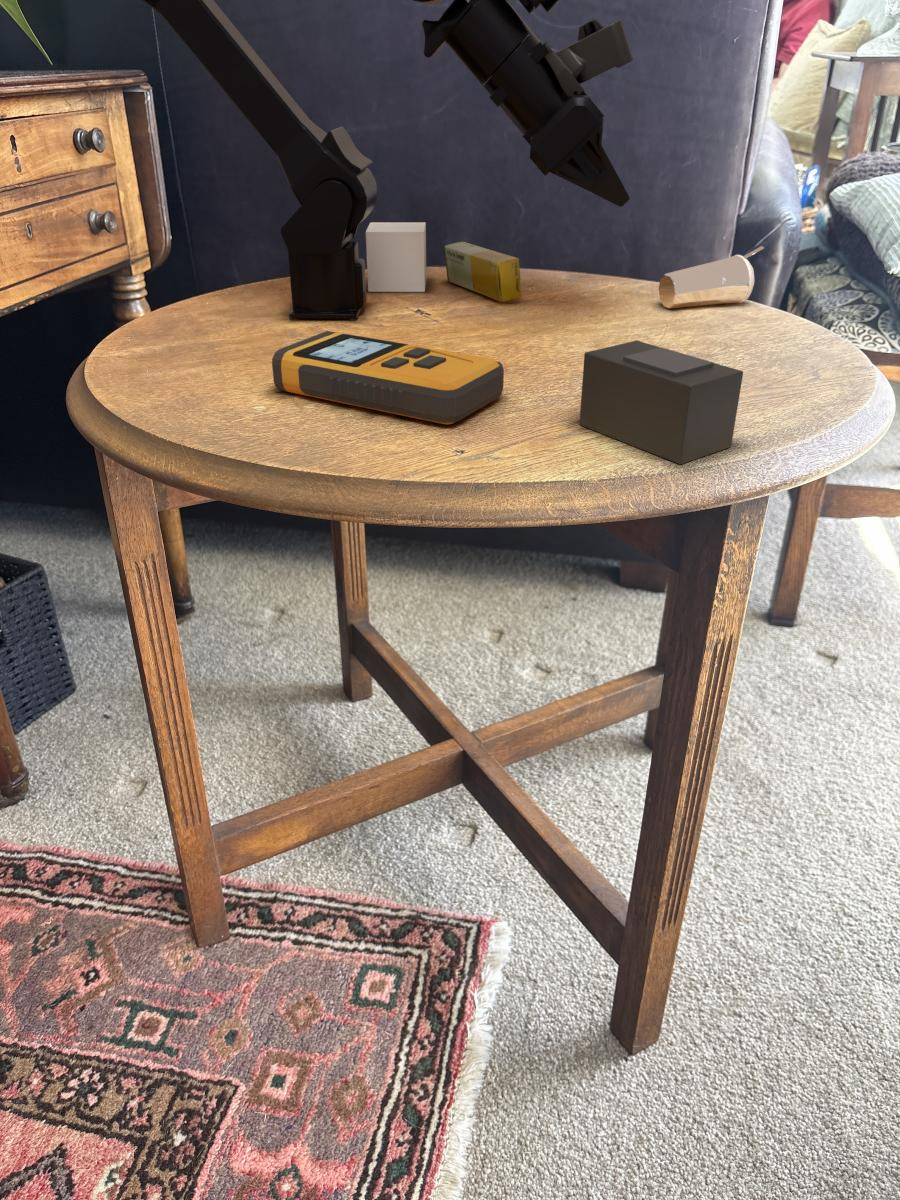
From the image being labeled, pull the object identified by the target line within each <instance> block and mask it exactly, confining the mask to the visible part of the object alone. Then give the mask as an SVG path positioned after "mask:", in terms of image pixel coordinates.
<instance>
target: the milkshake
mask: <svg viewBox="0 0 900 1200" xmlns="http://www.w3.org/2000/svg"><path fill="white" fill-rule="evenodd" d="M764 249H765V247H764V246H763V245H761V246H759V247H757V248H755V249H754V250H752V251H750V252H748V253H747V254H745V255H742V254H734V255H732V256H728V257H725V258H721V259H718V260H715V261H710V262H707V263H702V264H699V265H694V266H691V267H687V268H682V269H678V270H675V271H671V272H666V273H664V274H663V276H662V277H661V278H660V279H659V284H658V296H659V300H660V302H661V304H662V306H663V307H664V308H667V309H678V308H679V309H680V308H688V307H689V308H691V307H700V306H701V307H702V306H710V305H723V304H739V303H743V302H745V301H747V300H748V299H749V298H750V296H751V294H752V292H753V290H754V285H755V270H754V267H753V266H752V264H751V262H750V261H749V260H748V258H750V257H752V256H753V255H755V254H757V253H759V252H761V251H762V250H764Z"/></svg>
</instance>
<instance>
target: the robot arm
mask: <svg viewBox="0 0 900 1200" xmlns="http://www.w3.org/2000/svg"><path fill="white" fill-rule="evenodd" d="M141 1H142V2H144V3H145V4H146V5H148V6H149V7H150V8H152V9H153V10H154V11H156V12H157V13H158V14H159V15H160V17H161V18H162V19H163V20H164V22H166V24H167V25H168V26H169V27H170V28H171V30H173V32H174V33H175V34H176V36H177V37H178V38H179V39H180V40H181V42H182V43H183V44H184V45H185V47H186V48H187V49H188V50H189V52H191V53H192V55H193V56H194V57H195V58H196V60H197V61H198V62H199V63H200V65H201V66H202V67H203V68H204V69H205V71H206V72H207V73H208V74H209V75H210V76H211V78H212V79H213V80H214V82H216V84H217V85H218V86H219V87H220V89H221V90H222V91H223V92H224V93H225V95H226V96H227V97H228V98H229V99H230V101H231V102H232V103H233V104H234V105H235V107H236V108H237V109H238V110H239V111H240V112H241V114H242V115H243V116H244V117H245V119H246V120H247V121H248V122H249V123H250V124H251V126H252V127H253V128H254V129H255V130H256V132H257V133H258V134H259V136H261V138H262V139H263V140H264V141H265V143H266V144H267V145H268V146H269V148H270V149H271V150H272V151H273V153H274V154H275V156H276V158H277V159H278V162H279V164H280V166H281V169H282V171H283V174H284V176H285V178H286V180H287V183H288V185H289V188H290V189H291V191H292V193H293V194H294V196H295V197H296V199H297V201H298V203H299V204H300V207H298V209H296V211H295V212H294V213H293V214H292V216H291V217H290V218H289V219H288V220H287V221H286V222H285V223H284V225H282V227H281V228H280V235H281V237H282V239H283V241H284V244H285V246H286V249H287V258H288V268H289V269H288V270H289V282H290V295H291V305H292V306H291V309H290V311H289V312H288V317H289V318H290V319H327V320H328V319H333V320H334V319H335V320H337V319H345V320H346V319H347V320H350V319H352V320H353V319H358V317H359V316H360V313H361V311H362V310H363V309H364V307H365V305H366V303H367V281H366V278H367V277H366V260H365V259H364V258H360V257H359V242H358V241H351V239H354V238H355V237H356V234H357V231H358V228H359V225H360V224H361V223H362V222H363V221H365V219H366V218H367V217H368V216H369V215H370V214H371V213H372V211H373V210H374V208H375V206H376V202H377V200H378V199H377V198H378V185H377V181H376V178H375V176H374V174H373V173H372V171H371V169H370V168H369V167H370V166H371V165H372V164H373V160H371V159H370V158H369V157H367V156H364V154H362V153H361V152H360V150H358V148H357V146H356V145H355V143H354V142H353V139H352V137H351V136H350V134H349V132H348V131H347V129H346V128H345V127H344V126H339V127H337V128H335V129H332V130H329V131H328V132H326V131H325V130H323V129H322V128H321V127H319V126H318V125H316V124H315V123H314V122H313V120H311V118H309V117H308V115H307V114H306V113H305V112H304V110H303V109H302V108H301V107H300V106H299V104H298V102H296V101H295V99H294V98H293V97H292V96H291V94H290V93H289V92H288V90H287V89H286V88H285V87H284V85H283V84H282V83H281V82H280V81H279V80H278V78H277V77H276V76H275V75H274V73H273V72H272V71H271V70H270V68H269V67H268V66H267V64H266V63H265V62H264V61H263V60H262V58H261V57H260V56H259V54H258V53H256V51H255V50H254V48H253V47H252V46H251V45H250V43H249V42H248V41H247V40H246V38H245V37H244V36H243V35H242V33H241V32H240V31H239V30H238V28H236V26H235V24H234V23H232V21H231V20H230V19H229V18H228V16H227V15H226V14H225V12H224V11H223V10H222V9H221V7H220V6H219V5H218V4H217V2H215V0H141ZM412 1H414V2H416V3H419V4H424V5H427V6H431V5H437V4H440V3H442V2H444V1H445V0H412ZM560 1H561V0H518V2H519V4H521V6H522V7H523V8H524V9H525V10H526V12H527V13H528V14H529V15H531V14H532V13H533V12H534V11H535V10H537V9H538V8H539V6H541V7H542V9H543V10H544V11H545V12H546V14H550V13H551V12H552V10H553V9H554V8H555V7H556V6H557V5H558V4H559V2H560ZM623 24H624V23H623V22H622V19H618V20H616V21H614V22H612V23H611V24H608V25H607V26H605V27H604V26H603V25H602V24H601V23H600V22H599V21H598V20H597V19H596V18H594V19H591V20H590V21H588V22H586V23H584V24H581V25H579V26H578V31H577V41H575V42H573V43H571V44H570V45H568V46H566V47H563V48H562V49H560V50H558V51H556V52H554V50H553V49H552V47H550V46H549V44H548V43H547V42H544V43H542V42H541V41H540V40H539V38H538V37H537V36H536V34H535V33H534V32H533V31H532V29H530V27H529V26H528V24H527V23H526V22H525V21H524V20H523V18H522V17H521V16H520V15H519V13H518V12H517V11H516V10H515V8H514V7H513V6H512V5H511V4H510V2H509V1H508V0H452V2H451V3H450V4H449V6H447V8H446V9H445V10H444V11H443V13H441V15H440V16H439V17H438V18H437V20H430V19H429V20H428V19H424V20H423V21H422V22H421V27H422V29H423V36H424V41H423V42H424V44H423V45H424V46H423V56H424V57H425V58H434V57H436V56H437V54H438V53H440V51H441V50H442V49H443V48H444V46H446V45H447V46H448V48H450V50H451V51H452V52H453V53H454V55H456V57H457V58H458V59H459V60H460V61H461V63H462V64H463V65H464V66H465V68H467V70H468V71H469V72H470V73H471V74H472V76H473V77H474V78H475V80H477V81H478V83H479V84H480V85H481V86H482V87H483V89H484V90H485V91H486V93H488V94H489V99H490V100H491V101H492V102H493V103H494V104H495V106H496V107H497V108H498V107H499V108H500V109H501V110H502V111H503V112H504V114H505V115H506V116H507V117H508V118H509V120H510V121H511V122H512V123H513V124H514V125H515V126H516V128H517V129H518V130H519V131H520V132H521V134H522V138H523V139H524V140H525V141H526V142H527V144H528V145H529V146H530V147H529V159H530V160H531V162H532V163H533V164H534V165H535V166H536V167H537V168H538V170H539V171H540V172H541V173H542V174H543V175H544V176H547V175H548V174H552V175H555V176H557V177H559V178H561V179H563V180H566V181H567V182H570V183H571V184H574V185H576V186H577V187H580V188H581V189H584V190H586V191H588V192H590V193H592V194H594V195H596V196H598V197H600V198H602V199H604V200H605V201H608V202H609V203H612V204H613V205H616V206H617V207H619V208H623V207H624V206H625V205H626V204H627V203H628V202H629V201H630V198H631V197H630V195H629V193H628V190H627V189H626V188H625V186H624V184H623V182H622V180H621V178H620V176H619V174H618V173H617V170H616V169H615V167H614V165H613V163H612V161H611V160H610V158H609V156H608V153H607V152H606V150H605V148H604V147H603V142H602V141H603V133H604V132H603V131H604V124H605V119H604V118H605V115H604V113H603V112H602V111H601V110H600V109H599V107H598V106H597V105H596V104H595V102H594V101H593V100H592V98H590V96H589V95H588V94H587V93H586V92H585V89H584V87H582V85H581V84H583V83H585V82H587V81H589V80H591V79H593V78H595V77H597V76H599V75H601V74H603V73H606V72H607V71H609V70H611V69H613V68H617V69H619V68H622V67H623V66H625V65H628V64H629V63H631V62H633V61H634V57H633V53H632V49H631V47H630V43H629V40H628V38H627V34H626V31H625V28H624V25H623Z"/></svg>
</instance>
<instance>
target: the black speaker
mask: <svg viewBox="0 0 900 1200" xmlns="http://www.w3.org/2000/svg"><path fill="white" fill-rule="evenodd" d="M583 355H584V357H583V368H582V382H581V383H582V384H581V396H580V411H579V422H578V423H579V425H580V426H582V427H584V428H587V429H589V430H592V431H594V432H597V433H599V434H602V435H604V436H607V437H610V438H612V439H615V440H617V441H619V442H623V443H625V444H627V445H630V446H633V447H635V448H637V449H640V450H643V451H645V452H648V453H650V454H652V455H655V456H658V457H660V458H663V459H665V460H668V461H670V462H673V463H675V464H679V465H683V464H686V463H689V462H691V461H694V460H697V459H700V458H703V457H706V456H709V455H712V454H714V453H717V452H720V451H723V450H726V449H729V448H731V447H732V445H733V439H734V432H735V426H736V419H737V415H738V414H737V413H738V409H739V408H738V407H739V402H740V394H741V390H742V382H743V377H744V371H743V370H740V369H737V368H733V367H729V366H726V365H722V364H719V363H717V362H713V361H709V360H706V359H703V358H700V357H696V356H692V355H689V354H687V353H682V352H679V351H676V350H672V349H669V348H665V347H663V346H657V345H653V344H650V343H647V342H643V341H640V340H636V339H635V340H633V341H628V342H624V343H620V344H615V345H611V346H608V347H602V348H599V349H595V350H591V351H586V352H584V354H583Z"/></svg>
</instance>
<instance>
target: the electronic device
mask: <svg viewBox="0 0 900 1200" xmlns="http://www.w3.org/2000/svg"><path fill="white" fill-rule="evenodd" d="M271 368H272V377H273V384H274V386H275V388H276V389H277V390H278V391H283V392H287V393H292V394H296V395H297V394H298V395H301V396H306V397H312V398H316V399H322V400H326V401H329V402H330V401H331V402H335V403H341V404H346V405H349V406H356V407H359V408H365V409H370V410H375V411H378V412H383V413H388V414H394V415H398V416H403V417H408V418H413V419H417V420H422V421H426V422H432V423H437V424H441V425H452V424H455V423H456V422H459V421H462V420H463V419H464V418H466V417H469V416H470V415H471V414H473V413H475V412H477V411H479V410H480V409H482V408H484V407H485V406H487V405H488V404H490V403H492V402H494V401H495V400H497V399H498V398H500V397H501V396H502V394H503V391H504V380H505V379H504V377H505V376H504V375H505V370H504V366H503V364H502V362H500V361H497V360H496V359H495V358H490V357H486V356H479V355H474V354H467V353H462V352H455V351H450V350H444V349H438V348H433V347H427V346H421V345H413V344H407V343H403V342H402V343H401V342H396V341H389V340H385V339H384V340H383V339H379V338H378V339H377V338H372V337H368V336H367V337H366V336H361V335H355V334H349V333H341V332H335V331H331V330H326V331H323V332H321V333H318V334H316V335H313V336H310V337H307V338H305V339H302V340H300V341H297V342H294V343H291V344H288V345H286V346H284V347H281V348H278V350H276V351H275V352H274V354H273V356H272V358H271Z"/></svg>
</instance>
